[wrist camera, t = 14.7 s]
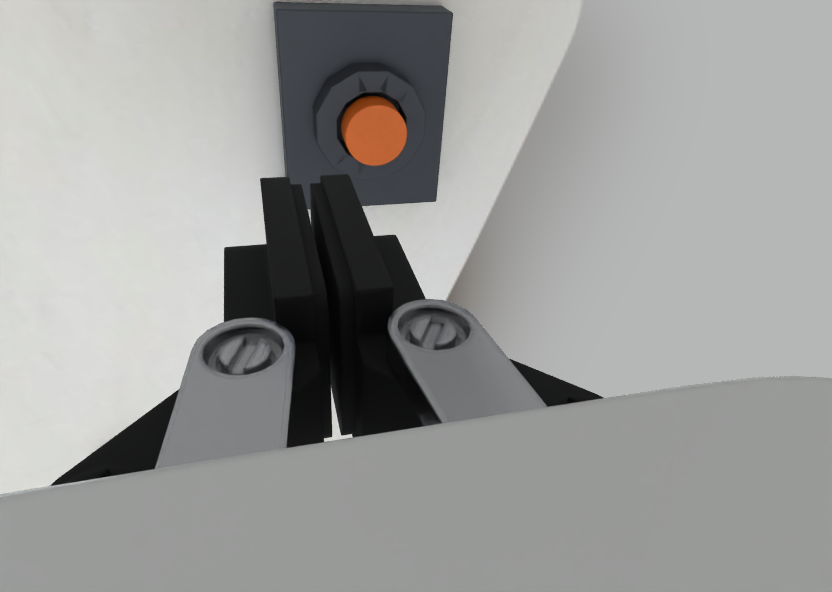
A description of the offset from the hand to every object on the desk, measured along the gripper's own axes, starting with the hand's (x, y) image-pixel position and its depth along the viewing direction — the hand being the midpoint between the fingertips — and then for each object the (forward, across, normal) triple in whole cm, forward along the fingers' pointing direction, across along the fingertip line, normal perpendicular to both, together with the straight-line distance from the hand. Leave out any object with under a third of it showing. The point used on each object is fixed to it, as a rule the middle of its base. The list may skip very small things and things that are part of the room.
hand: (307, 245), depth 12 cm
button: (+23, -6, +6) cm, 25 cm away
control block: (+27, -6, +6) cm, 28 cm away
